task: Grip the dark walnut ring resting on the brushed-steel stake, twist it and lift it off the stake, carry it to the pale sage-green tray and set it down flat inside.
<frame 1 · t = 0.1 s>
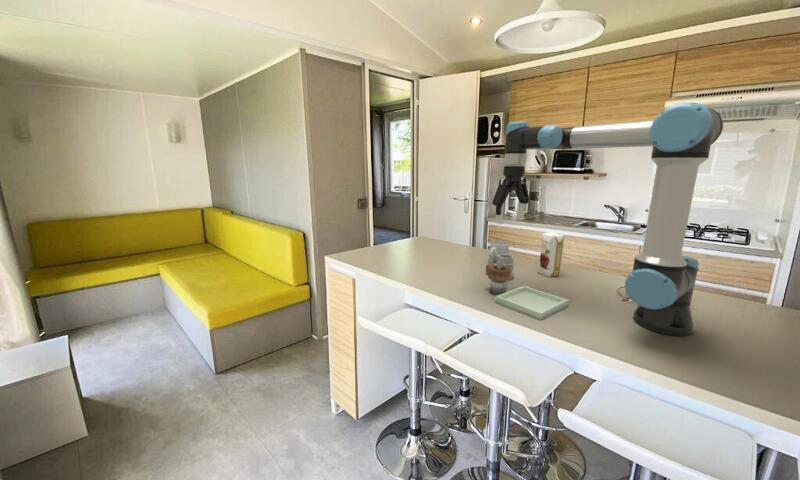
hand: (509, 221, 132), 28 cm above the worktop, fingers open, 13 cm apart
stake: (497, 292, 135), on the worktop
juice carton: (549, 274, 156), on the worktop
tray: (531, 304, 123), on the worktop
ring: (498, 277, 133), point 6 cm above the worktop, touching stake
mug 2: (496, 262, 175), on the worktop
mug: (500, 276, 154), on the worktop
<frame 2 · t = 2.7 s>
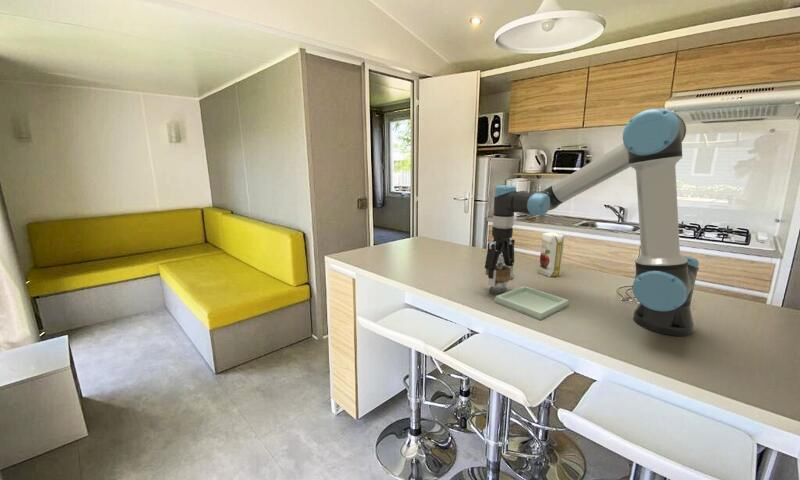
hand: (498, 283, 134), 4 cm above the worktop, fingers closed on ring, 8 cm apart
ring: (498, 277, 133), point 6 cm above the worktop, touching gripper, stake
everything else where it was.
when the fingers open (3 cm above the worktop, at t = 8.1 s): ring drops 4 cm, resting on tray.
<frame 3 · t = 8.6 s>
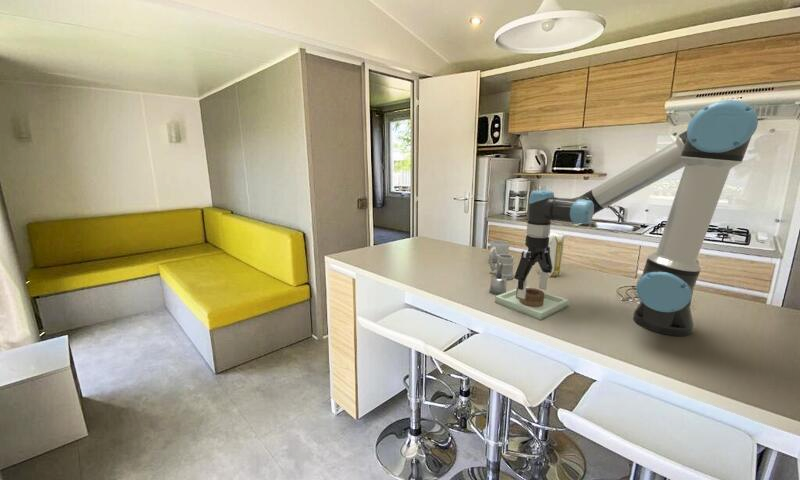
hand: (532, 293, 122), 4 cm above the worktop, fingers open, 13 cm apart
ring: (531, 302, 123), point 1 cm above the worktop, touching tray
everything else where it was.
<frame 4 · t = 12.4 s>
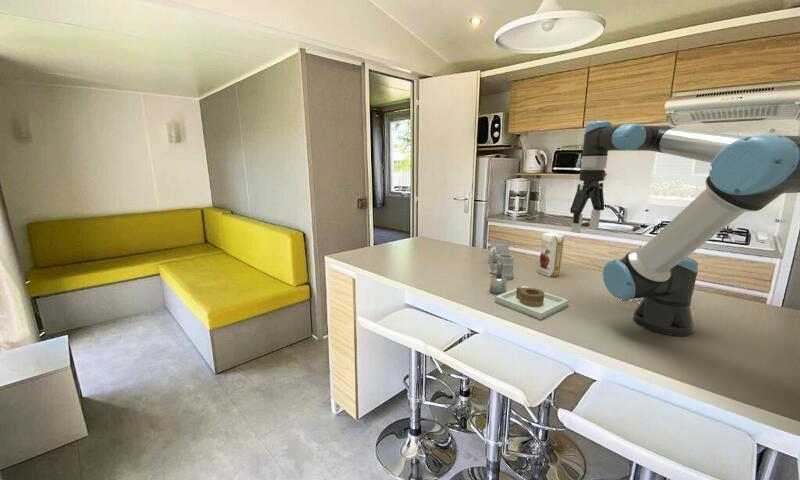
hand: (585, 230, 121), 27 cm above the worktop, fingers open, 13 cm apart
nothing on the worktop moved.
at the end: ring inside the target area on the tray (0.0 cm from its centre), point 0.8 cm above the tray's base; ring tilted 0°; ring touching tray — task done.
